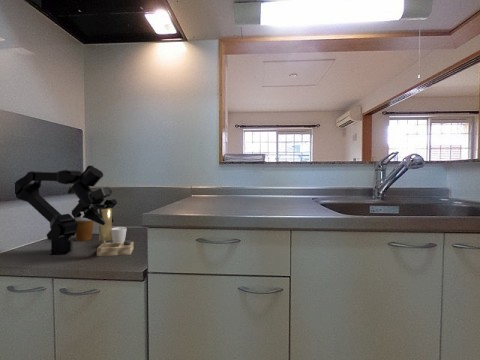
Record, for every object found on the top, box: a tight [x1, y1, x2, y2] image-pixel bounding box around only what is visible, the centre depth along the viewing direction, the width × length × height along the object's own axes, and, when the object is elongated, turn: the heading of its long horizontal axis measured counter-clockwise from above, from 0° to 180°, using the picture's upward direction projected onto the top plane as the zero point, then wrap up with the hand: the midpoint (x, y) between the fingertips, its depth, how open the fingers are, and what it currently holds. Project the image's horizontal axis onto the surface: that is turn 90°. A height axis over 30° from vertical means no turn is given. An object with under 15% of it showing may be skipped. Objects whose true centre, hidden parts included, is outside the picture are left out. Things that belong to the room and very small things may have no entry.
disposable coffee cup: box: [73, 214, 94, 242], centre depth 130 cm, size 10×10×12 cm
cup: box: [103, 226, 128, 243], centre depth 119 cm, size 7×10×8 cm
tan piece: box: [98, 208, 113, 242], centre depth 104 cm, size 4×4×12 cm
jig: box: [96, 240, 135, 257], centre depth 110 cm, size 12×9×4 cm
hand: (108, 223), depth 103 cm, fingers closed on tan piece, 4 cm apart
